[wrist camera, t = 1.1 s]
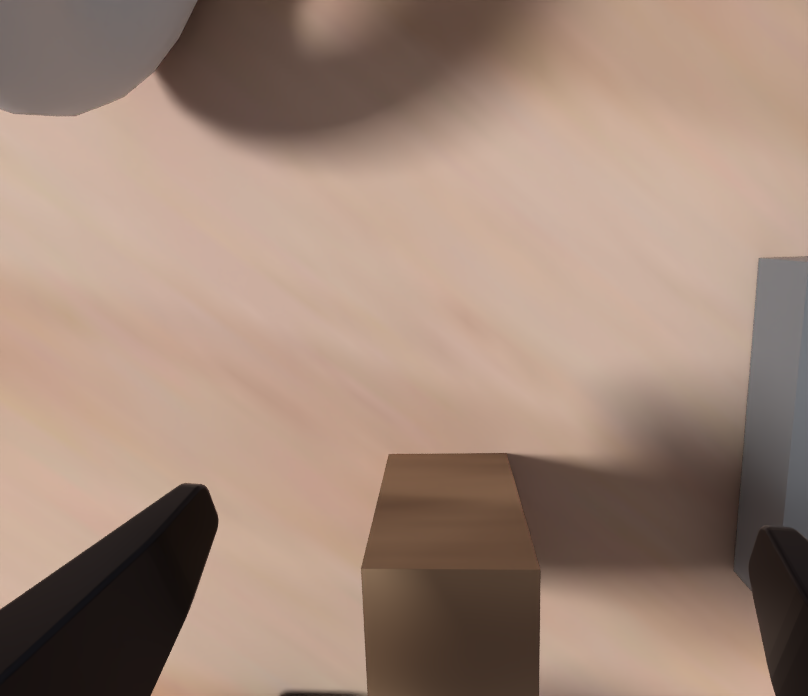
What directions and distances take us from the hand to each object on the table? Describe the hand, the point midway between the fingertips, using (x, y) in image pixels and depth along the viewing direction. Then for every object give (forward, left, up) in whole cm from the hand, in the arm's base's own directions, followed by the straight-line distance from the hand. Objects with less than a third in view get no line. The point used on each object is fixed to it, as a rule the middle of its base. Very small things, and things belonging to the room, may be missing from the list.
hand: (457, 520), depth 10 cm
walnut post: (-5, 0, -10) cm, 11 cm away
